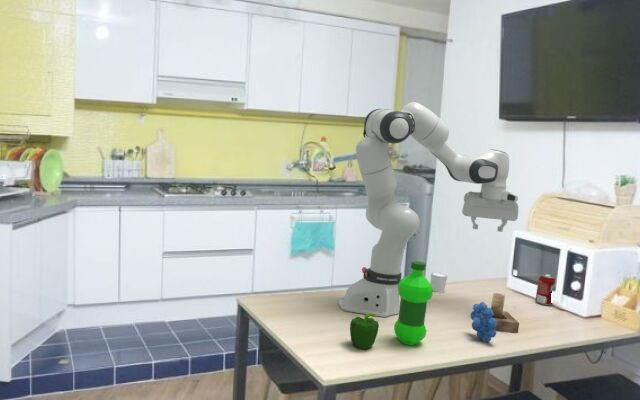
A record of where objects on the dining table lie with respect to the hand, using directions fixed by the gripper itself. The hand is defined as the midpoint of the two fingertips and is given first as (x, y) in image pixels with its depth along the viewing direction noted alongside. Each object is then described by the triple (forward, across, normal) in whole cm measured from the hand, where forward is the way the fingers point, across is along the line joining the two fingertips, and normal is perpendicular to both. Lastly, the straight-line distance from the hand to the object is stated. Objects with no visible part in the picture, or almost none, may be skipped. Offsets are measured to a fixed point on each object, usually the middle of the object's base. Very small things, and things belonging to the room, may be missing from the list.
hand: (487, 230), depth 205 cm
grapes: (+31, -9, -32) cm, 46 cm away
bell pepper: (+31, -48, -47) cm, 74 cm away
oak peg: (+31, +2, -16) cm, 35 cm away
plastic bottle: (+31, -33, -40) cm, 61 cm away
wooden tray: (+31, +2, -16) cm, 35 cm away
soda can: (+31, +34, +18) cm, 50 cm away
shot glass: (+31, -10, +22) cm, 40 cm away
